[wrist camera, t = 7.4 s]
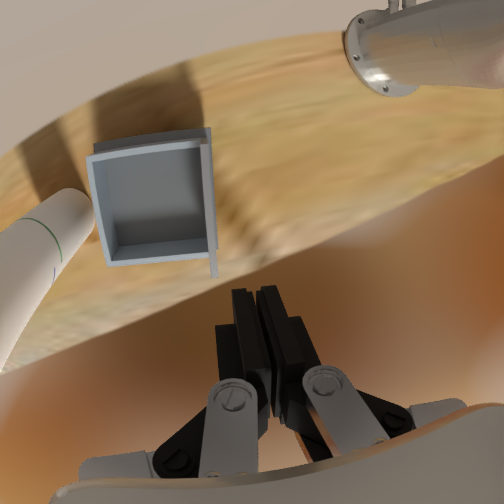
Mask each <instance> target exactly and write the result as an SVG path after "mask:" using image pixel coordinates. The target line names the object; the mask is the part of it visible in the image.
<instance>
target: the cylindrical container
mask: <svg viewBox="0 0 504 504" xmlns="http://www.w3.org/2000/svg"><path fill="white" fill-rule="evenodd" d="M94 225H95V212H94V207H93V204H92V203H91V201H90V199H89V198H88V197H87V196H86V195H85V194H84V193H83V192H81V191H79V190H77V189H74V188H65V189H62V190H60V191H58V192H57V193H55V194H53V195H52V196H50V197H49V198H47V199H46V200H45V201H43V202H42V203H40V204H39V205H37V206H36V207H34V208H33V209H32V210H30V211H29V212H27V213H26V214H25V215H23V216H22V217H21V218H19V219H18V220H17V221H15V222H14V223H13V224H11V225H10V226H9V227H8V228H6V229H5V230H4V231H3V232H1V233H0V372H1V370H2V368H3V366H4V364H5V362H6V360H7V358H8V356H9V354H10V352H11V351H12V349H13V347H14V345H15V343H16V342H17V340H18V338H19V336H20V335H21V333H22V331H23V329H24V328H25V326H26V324H27V323H28V321H29V319H30V318H31V316H32V315H33V313H34V311H35V310H36V308H37V307H38V305H39V304H40V302H41V301H42V299H43V298H44V296H45V294H46V293H47V292H48V290H49V289H50V287H51V286H52V284H53V283H54V281H55V280H56V278H57V277H58V276H59V274H60V273H61V271H62V270H63V269H64V267H65V266H66V264H67V263H68V262H69V260H70V259H71V258H72V256H73V255H74V254H75V252H76V251H77V250H78V249H79V247H80V246H81V245H82V243H83V242H84V241H85V240H86V238H87V237H88V236H89V235H90V233H91V232H92V230H93V228H94Z"/></svg>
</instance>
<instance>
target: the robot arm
mask: <svg viewBox="0 0 504 504" xmlns="http://www.w3.org/2000/svg"><path fill="white" fill-rule="evenodd" d="M388 3H389V8H387V9H386V10H369V11H365V12H362V13H361V14H359V15H357V16H356V17H355V18H353V19H352V20H351V22H350V24H349V25H348V27H347V30H346V33H345V50H346V54H347V58H348V60H349V63H350V65H351V67H352V69H353V70H354V72H355V74H356V75H357V76H358V78H359V79H360V80H361V81H362V82H363V83H364V84H365V85H366V86H367V87H368V88H370V89H371V90H373V91H375V92H376V93H379V94H381V95H383V96H388V97H404V96H407V95H409V94H411V93H413V92H414V91H415V90H416V89H417V88H418V87H419V86H420V85H430V86H459V87H474V88H486V89H502V88H504V0H432V1H428V2H425V3H422V4H418V5H416V0H402V8H403V10H400V11H399V10H398V6H399V0H388ZM354 58H355V59H354ZM232 304H233V316H234V324H226V325H216V326H215V331H216V343H217V356H218V368H219V378H220V381H219V382H218V383H217V384H215V385H214V386H213V387H212V388H211V390H210V392H209V395H208V401H207V406H206V407H205V408H204V409H203V410H202V411H201V412H199V413H198V414H197V415H196V416H195V417H194V418H193V419H192V420H190V421H189V422H188V423H187V424H186V425H185V426H184V427H182V428H181V429H180V430H179V431H178V432H176V433H175V434H174V435H173V436H172V437H171V438H169V439H168V440H167V441H166V442H165V443H163V444H162V445H161V446H160V447H159V448H158V449H157V450H156V451H152V452H147V453H146V452H145V451H138V452H132V453H125V454H118V455H111V456H102V457H93V458H89V459H87V460H85V461H84V462H83V463H82V464H81V466H80V468H79V474H78V475H79V481H78V482H75V483H71V484H68V485H66V486H63V487H61V488H60V489H58V490H57V491H56V492H55V493H54V494H53V495H52V497H51V499H50V501H49V503H48V504H504V404H502V403H482V404H476V405H472V406H469V407H467V405H466V404H465V403H464V402H463V401H462V400H459V399H457V398H450V399H445V400H440V401H434V402H429V403H423V404H417V405H411V406H409V408H406V409H405V408H403V407H401V406H399V405H396V404H394V403H391V402H388V401H385V400H383V399H380V398H377V397H375V396H372V395H369V394H367V393H364V392H362V391H359V390H357V389H355V388H354V386H353V385H352V383H351V382H350V380H349V379H348V378H347V376H346V375H345V374H344V373H343V372H342V371H341V370H340V369H338V368H336V367H333V366H330V365H321V363H320V360H319V358H318V355H317V353H316V351H315V348H314V346H313V344H312V342H311V339H310V337H309V335H308V332H307V330H306V328H305V325H304V323H303V321H302V319H301V317H300V316H295V317H288V315H287V312H286V310H285V308H284V305H283V302H282V300H281V297H280V294H279V292H278V289H277V287H276V285H271V286H262V287H261V290H260V291H256V305H255V301H254V297H253V294H252V291H250V292H247V290H246V288H242V289H232ZM270 404H271V408H272V412H273V416H274V417H279V419H280V423H281V424H285V425H286V427H288V428H290V429H292V430H294V434H295V437H296V439H297V441H298V443H299V445H300V447H301V449H302V451H303V453H304V455H305V457H306V459H307V461H308V463H309V464H304V465H300V466H295V467H290V468H284V469H279V470H273V471H267V472H260V473H258V440H259V439H260V437H261V436H262V435H263V434H264V433H265V432H266V431H267V427H268V418H270Z"/></svg>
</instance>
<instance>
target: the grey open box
mask: <svg viewBox="0 0 504 504" xmlns="http://www.w3.org/2000/svg"><path fill="white" fill-rule="evenodd" d="M93 145H94V153H93V154H91V155H88V156H86V164H87V171H88V178H89V184H90V190H91V196H92V201H93V207H94V212H95V217H96V222H97V226H98V231H99V235H100V240H101V244H102V248H103V252H104V256H105V260H106V264H107V267H114V266H125V265H136V264H146V263H157V262H167V261H178V260H188V259H199V258H209V260H210V270H211V278H218V268H217V257H216V250H217V249H218V237H217V224H216V210H215V196H214V180H213V164H212V146H211V128H210V127H208V128H196V129H185V130H176V131H167V132H159V133H151V134H144V135H137V136H131V137H125V138H119V139H113V140H108V141H102V142H97V143H94V144H93Z"/></svg>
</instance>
